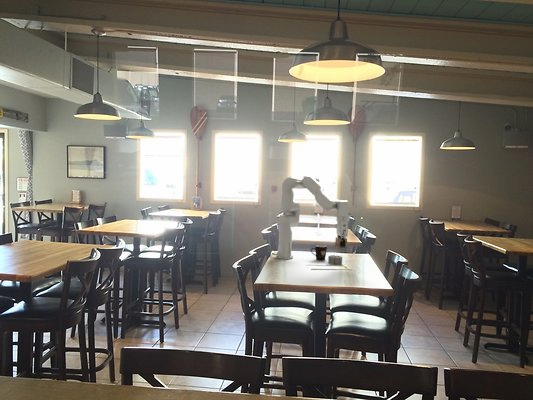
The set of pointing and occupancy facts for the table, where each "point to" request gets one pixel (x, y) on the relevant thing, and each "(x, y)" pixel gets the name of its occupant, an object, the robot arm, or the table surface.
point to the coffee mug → (320, 252)
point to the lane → (334, 269)
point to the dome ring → (335, 260)
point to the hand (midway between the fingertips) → (341, 245)
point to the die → (339, 243)
